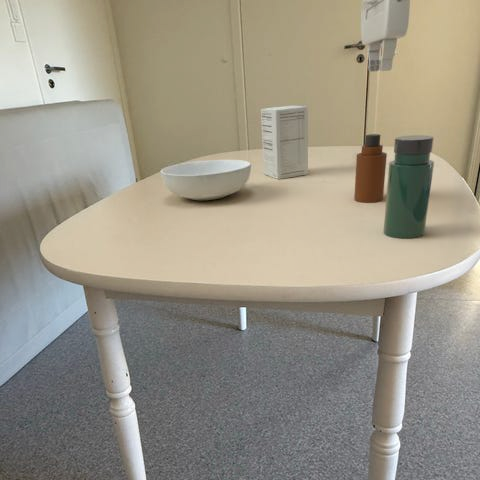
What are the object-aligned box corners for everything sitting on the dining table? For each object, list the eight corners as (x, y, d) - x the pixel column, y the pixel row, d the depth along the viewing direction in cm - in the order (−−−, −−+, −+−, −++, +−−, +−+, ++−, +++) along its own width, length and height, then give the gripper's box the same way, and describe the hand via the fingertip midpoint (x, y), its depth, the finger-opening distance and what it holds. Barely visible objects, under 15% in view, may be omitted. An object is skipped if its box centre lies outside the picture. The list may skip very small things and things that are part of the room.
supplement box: (292, 170, 128) (292, 105, 120) (309, 174, 120) (309, 105, 112) (262, 174, 125) (259, 108, 117) (277, 179, 117) (275, 109, 109)
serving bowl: (269, 189, 107) (268, 159, 104) (217, 211, 93) (214, 177, 89) (201, 184, 118) (199, 157, 115) (145, 203, 103) (140, 172, 100)
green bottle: (417, 225, 76) (429, 133, 69) (430, 237, 70) (444, 138, 63) (379, 227, 76) (387, 136, 69) (388, 239, 70) (397, 141, 64)
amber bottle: (379, 195, 96) (384, 132, 90) (385, 201, 90) (391, 135, 85) (352, 196, 96) (355, 134, 90) (356, 203, 91) (360, 137, 85)
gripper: (425, -38, 66) (413, 69, 73) (390, -14, 84) (383, 70, 90) (382, -35, 66) (374, 71, 73) (357, -11, 84) (352, 72, 91)
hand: (379, 71), depth 82 cm, fingers open, 8 cm apart
